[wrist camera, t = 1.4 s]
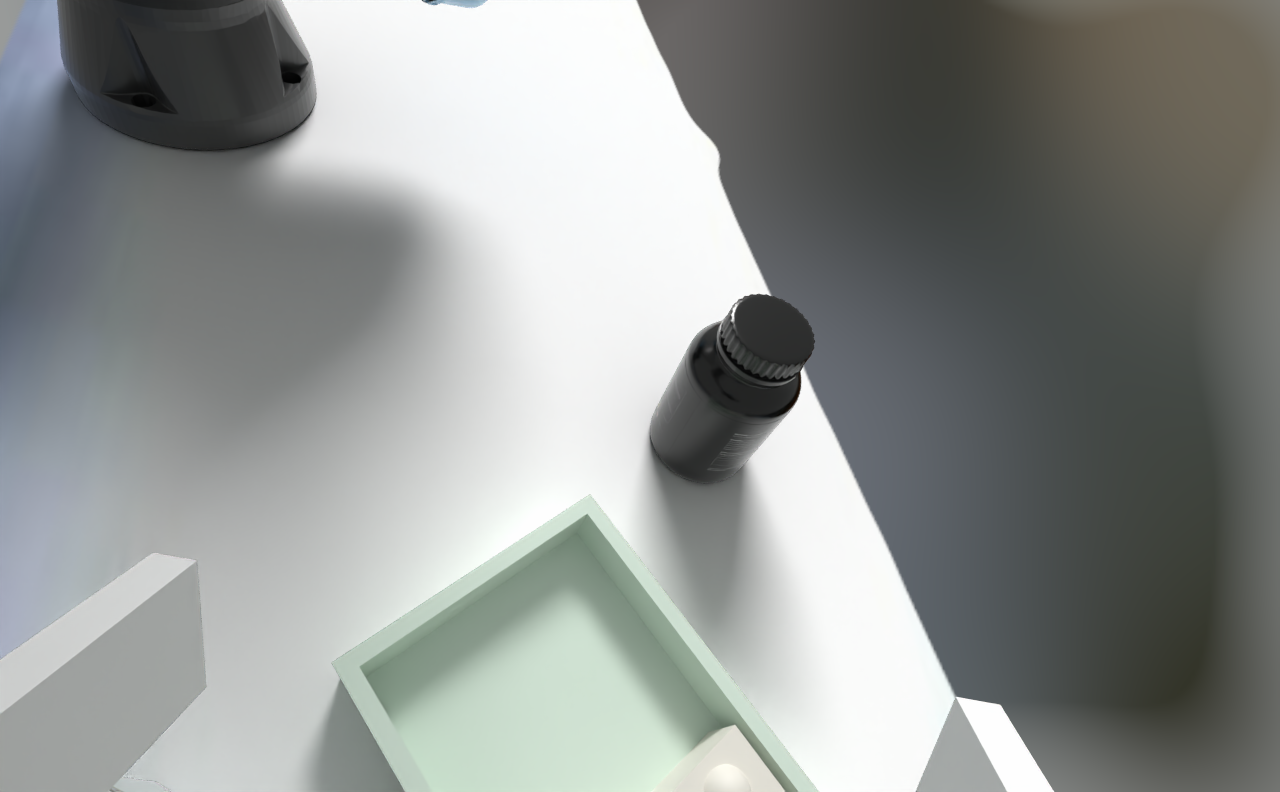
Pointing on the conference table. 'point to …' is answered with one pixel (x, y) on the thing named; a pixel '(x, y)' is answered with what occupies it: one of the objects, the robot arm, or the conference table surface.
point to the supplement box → (137, 786)
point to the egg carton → (721, 767)
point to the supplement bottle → (732, 389)
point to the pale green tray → (550, 675)
